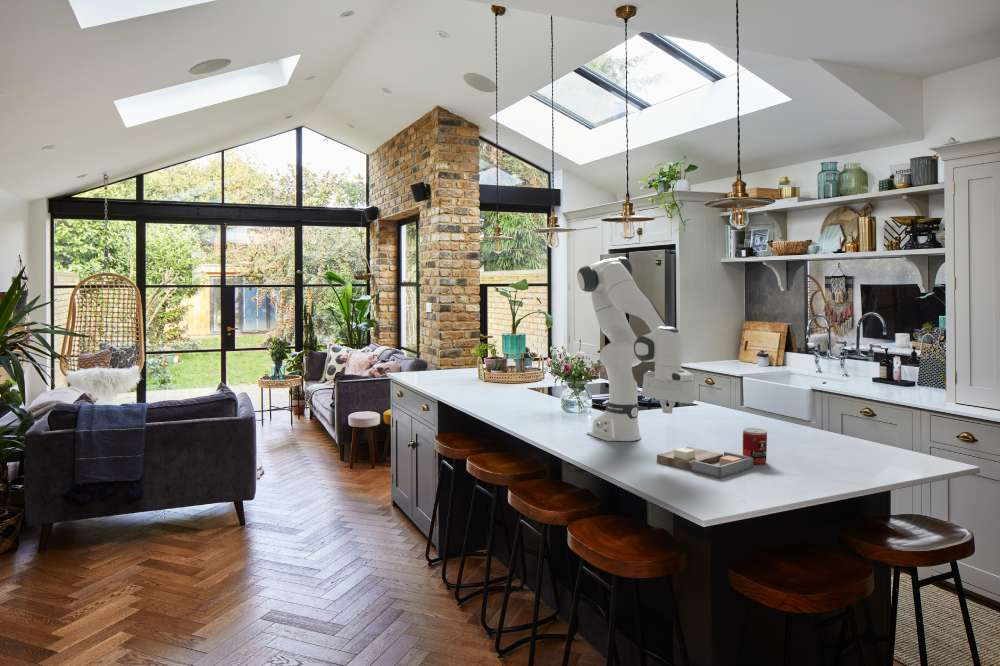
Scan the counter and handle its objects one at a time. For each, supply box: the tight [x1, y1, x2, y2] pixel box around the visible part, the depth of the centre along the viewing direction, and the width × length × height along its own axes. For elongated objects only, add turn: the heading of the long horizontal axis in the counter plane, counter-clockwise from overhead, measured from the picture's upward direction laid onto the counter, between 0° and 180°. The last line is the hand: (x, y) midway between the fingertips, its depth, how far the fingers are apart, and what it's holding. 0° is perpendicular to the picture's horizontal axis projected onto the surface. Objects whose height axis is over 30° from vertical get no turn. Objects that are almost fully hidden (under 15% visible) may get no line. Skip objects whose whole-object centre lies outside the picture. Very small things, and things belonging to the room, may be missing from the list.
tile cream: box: [673, 447, 695, 460], centre depth 223 cm, size 5×5×2 cm
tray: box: [691, 451, 754, 479], centre depth 217 cm, size 10×19×4 cm, turn 128°
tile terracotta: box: [720, 455, 742, 466], centre depth 219 cm, size 5×5×2 cm
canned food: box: [742, 427, 768, 466], centre depth 226 cm, size 8×8×11 cm
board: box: [656, 446, 724, 472], centre depth 227 cm, size 14×18×2 cm
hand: (667, 412), depth 228 cm, fingers closed
